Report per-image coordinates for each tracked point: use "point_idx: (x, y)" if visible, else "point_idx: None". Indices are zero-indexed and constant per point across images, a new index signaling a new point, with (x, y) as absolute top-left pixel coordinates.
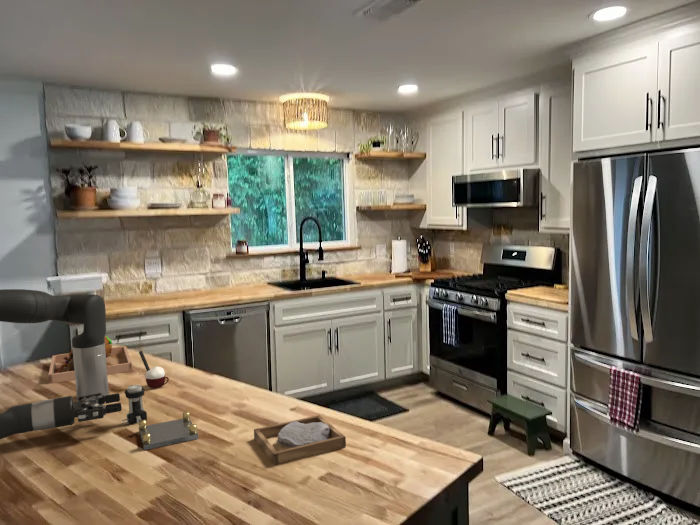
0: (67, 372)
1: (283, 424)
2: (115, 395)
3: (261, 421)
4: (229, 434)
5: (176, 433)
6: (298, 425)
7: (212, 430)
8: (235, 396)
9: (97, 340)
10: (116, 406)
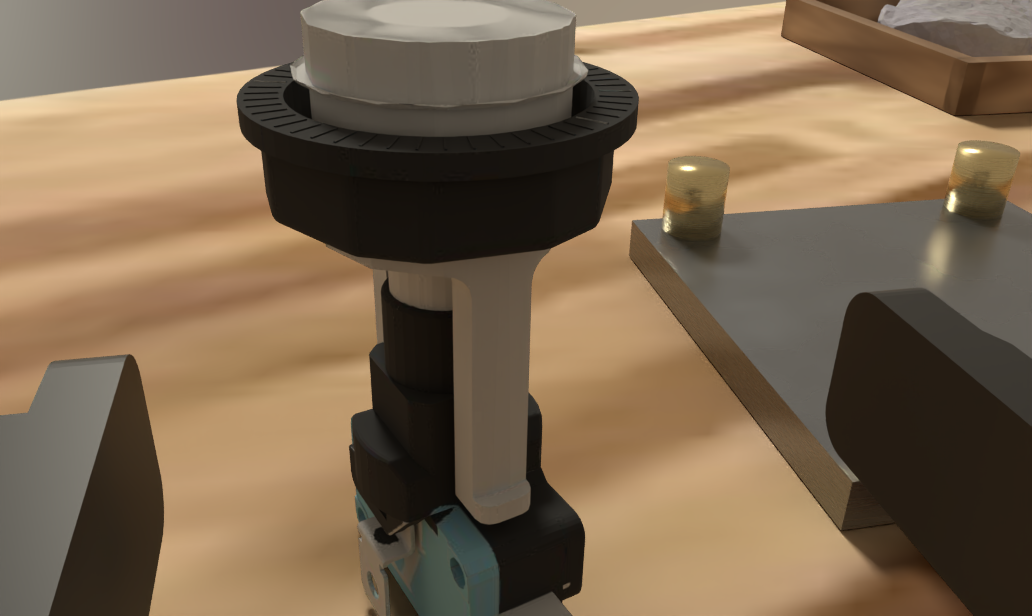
0: None
1: (894, 29)
2: (126, 422)
3: (715, 96)
4: (898, 155)
5: (1004, 262)
6: (938, 6)
7: (832, 190)
8: (222, 124)
9: None
10: (1017, 354)
